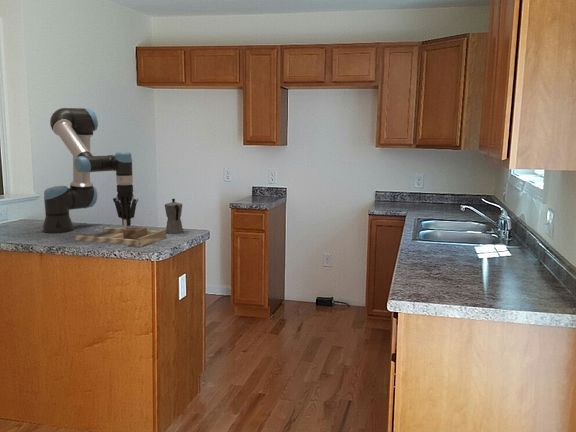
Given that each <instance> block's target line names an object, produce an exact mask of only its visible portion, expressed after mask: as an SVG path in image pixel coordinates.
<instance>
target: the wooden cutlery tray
mask: <svg viewBox="0 0 576 432" xmlns="http://www.w3.org/2000/svg"><path fill="white" fill-rule="evenodd" d="M123 230H124V228H119V227H118V228H116V227H115V228H114V227H102V231H101V232H98V233H94V234H91V235H78V234H77V235H75V236H74V240H75V241H81V242H82V241H84V242H93V243H94V242H95V243H107V244H108V243H109V244H121V245H127V247H131V246H133V247H134V248H142V247H145V246H147V245H150V244H151V245H152V244H154V243H155V242H158V241H161V240H163V239H166V238H167V233H166V229H161V230H148V229H147V235H146V236H143V237H141V238H138V240H133V239H123Z"/></svg>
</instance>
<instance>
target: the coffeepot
mask: <svg viewBox="0 0 576 432" xmlns="http://www.w3.org/2000/svg"><path fill="white" fill-rule="evenodd" d="M171 200H172V201H171V202H168V203H165V204H164V209H165V214H166V215H165V216H166V218H167V221H166V225H165V226H166V227H165V230H166V235H167V234H169V235H178V233H180V234H182V232H184V229H183V224H182V223H183V222H182V219H181V217H182V212H183V211H182V210H183V203H181V202H176V198H172V199H171Z"/></svg>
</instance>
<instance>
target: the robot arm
mask: <svg viewBox="0 0 576 432" xmlns="http://www.w3.org/2000/svg"><path fill="white" fill-rule="evenodd" d="M49 125H50V127H51V130H52V131H53V133H54V134H55V135H56V136H59V138H60V140H61V141H62V142H63V144H64V146H65V147H66V149H68V150H69V152H70V153H71V155H72V181H71V182H70V183H69V185H70V187H68V186H67V185H58V186H57V185H56V186H52V187H49V188H46V189H45V190H44V192H43V202H44V212H45V213H44V214H45V215H44V216H45V217H44V222H43V226H42V232H43V233H49V234H57V233H68V232H71V231H72V232H73V230H74V227H75V226H74V224H73V222H72V219H71V216H70V210H78V209H81V210H82V209H88V208H92V207H94V206H95V204H96V203H97V200H98V192H97V188H96V187H95V186H94V184H93V183H92V182H91V173H95V172H96V173H97V172H115V178H116V179H115V180H116V184H117V185H116V192H117V194H116V197H113V198H112V200H113V202H114V205H115V209H116V210H115V211H116V213H117V217H118V218H120V219H121V222H122V223H121V225H122V226H123V229H127V228H131V227H130V226H131V224H132V221H131V219H134V218H135V214H136V209H137V205H138V204H137V203H138V202H139V199H138V198H136V197H134V196H135V195H134V185H133V182H134V180H133V179H134V178H133V177H134V176H133V158H132V157H133V156H132V153H131V152H130V151H117V152H115V155H114V154H107V155H93V154H92V153H91V138H92V136H94V132H95V131H97V130H98V127H99V121H98V117H97V115H96V112H95V111H94V110H92V109H91V108H83V107H82V108H81V107H78V108H77V107H73V108H72V107H61V108H58V109H57V110H55V111H54V112H53V113H52V115H51V117H50V120H49Z"/></svg>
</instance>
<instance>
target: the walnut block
mask: <svg viewBox="0 0 576 432" xmlns="http://www.w3.org/2000/svg"><path fill="white" fill-rule="evenodd" d="M123 229H124V228H123ZM147 230H148V228H147V227H141V226H140V227H139V226H131V227H130V228H127V229H124V230H123V239H133V240H138V238H141V237H143V236H146V235H147Z"/></svg>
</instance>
